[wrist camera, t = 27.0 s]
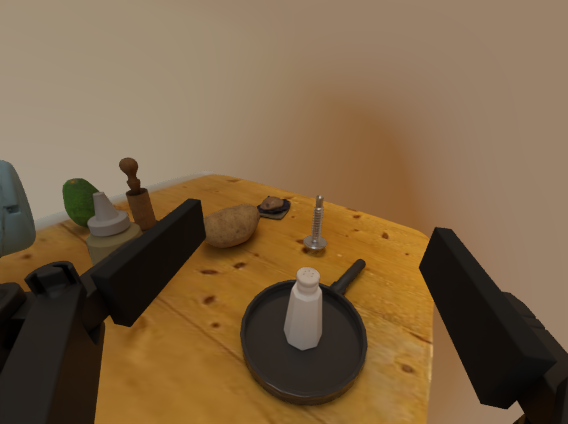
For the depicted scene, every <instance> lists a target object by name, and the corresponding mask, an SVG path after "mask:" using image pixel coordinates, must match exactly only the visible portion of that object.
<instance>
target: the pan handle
mask: <svg viewBox="0 0 568 424" xmlns="http://www.w3.org/2000/svg"><path fill="white" fill-rule="evenodd" d="M365 265H366V263H365V261H364V260H362V259H358V260H357V261H356V262H355V263H354V264H353V265H352V266H351V267H350V268H349V269H348V270H347V271H346V272H345V273H344V274H343V275H342V276H341V277H340V279H339V280H338V281H337V282H334V283H333V284H332V285H331V286H330V287H329V289H331V290H332V291H331V290H329V289H328V294H330V295H331V296H332V295H333V296H334V298H337V299H339V295H337V294H336V293H340V294H342V295H344V294H345V291H346V288H347V286H348V285H349V284H350V283H351V282H352V281H353V280H354V279H355V277H356V276H357V275H358V274H359V273H360V272H361V271H362V269H363V268H364V267H365ZM335 296H336V297H335Z"/></svg>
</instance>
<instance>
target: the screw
mask: <svg viewBox="0 0 568 424" xmlns="http://www.w3.org/2000/svg"><path fill="white" fill-rule="evenodd" d="M314 208H315V210H314V215H313V216H314V218H313V219H314V220H313V225H312V229H313V230H312V235H310V236H307V237H306V238H305V239H304V245H305V246H306V247H307V248H308V249H309V251H310V252H311V253H318V252H320V251H321V249H324V248H325V247H326V245H327V242H326V240H325V239H324V238H323V237H321V236H320V234H321V226H322V225H321V224H322V218H323V217H322V216H323V197H322V196H321V195H319V196H317V199H316V207H314Z"/></svg>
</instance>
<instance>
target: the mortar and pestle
mask: <svg viewBox="0 0 568 424" xmlns="http://www.w3.org/2000/svg"><path fill="white" fill-rule="evenodd" d="M119 167H120V169H121V170H122V171H123V172H124V173H125V174H126V175H127V176H128V181H127V184H128V186H129V187H130V189H131V190H129V191H128V192H126V196H127V199H128V202H129V205H130V208H131V211H132V214H133V217H134V220H135V224H137V225H139V227H140V229H141V231H142V233H143V234H144V233H145V232H146V231H147V230H149V229H150V228H151V227H153V226H154V225H155V224H156V223H158V222H159V221H157V220H156V219H155V216H154V212H153V209H152V205H151V202H150V198H149V194H148V191H147V189H145V188H140V180H139V179H137V177H136V172H137V170H138V164H137V162H136V161H135V160H134V159H132V158H124V159H122V160H121V161H120V163H119Z"/></svg>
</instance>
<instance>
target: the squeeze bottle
mask: <svg viewBox="0 0 568 424" xmlns="http://www.w3.org/2000/svg"><path fill="white" fill-rule="evenodd" d="M93 200H94V208H95V216H93V217H92V218H90V219H89V220H88V223H87V225H88V227H89V229H90V231H91V234H90V235H89V236H88V238H87V239H86V244H87V247H88V250H89V254H90V257H91V260H92V263H93V266H94V265H96V264H97V263H98V262H100V261H101V260H102V259H104V258H105V257H108V255H109V254H110V253H112V252H113V251H115V250H116V249H117V248H118V247H120V246H121V245H122V244H124V243H125V242H127V241H130V240H132V239H134V238H136V237H137V238H138V237H140V236H141V235H142V234H143V233H142V231H141V229H140V227H139V225H137V224H135V223H133V222H130V220H129V217H128V214H127V212H125V211H121V210H116V209H115V208H114V206H113V205H112V203H111V202H110V201H109V199H108V198H107V197H106V195H105V194H104V192H96V193H94V194H93Z"/></svg>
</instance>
